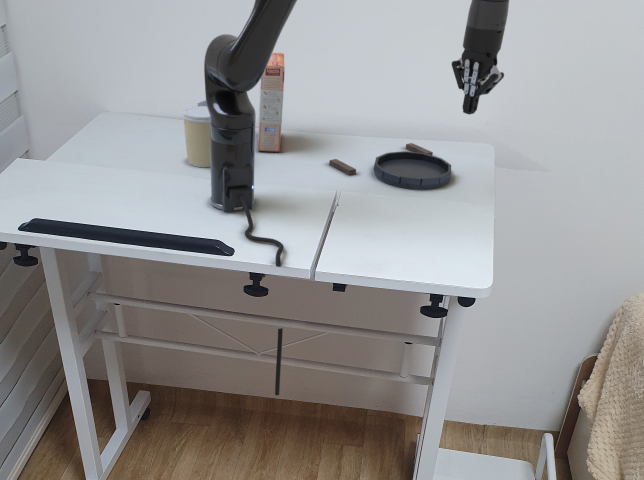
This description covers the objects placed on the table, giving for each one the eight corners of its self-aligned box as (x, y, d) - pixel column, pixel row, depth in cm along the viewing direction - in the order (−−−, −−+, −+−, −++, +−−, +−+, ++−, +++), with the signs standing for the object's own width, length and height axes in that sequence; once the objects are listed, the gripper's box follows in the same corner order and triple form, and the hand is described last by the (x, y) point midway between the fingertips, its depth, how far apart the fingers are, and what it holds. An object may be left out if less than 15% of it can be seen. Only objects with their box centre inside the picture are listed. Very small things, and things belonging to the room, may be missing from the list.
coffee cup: (225, 156, 180) (225, 106, 173) (219, 169, 172) (219, 118, 165) (188, 153, 180) (186, 104, 173) (181, 167, 173) (179, 116, 166)
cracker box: (281, 153, 183) (285, 65, 170) (257, 152, 183) (259, 64, 170) (281, 135, 194) (284, 52, 182) (258, 134, 194) (261, 51, 182)
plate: (463, 185, 169) (465, 174, 167) (394, 192, 164) (395, 181, 163) (426, 159, 183) (428, 149, 181) (361, 165, 178) (363, 154, 176)
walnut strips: (432, 156, 184) (433, 152, 183) (349, 175, 172) (349, 170, 171) (411, 147, 189) (411, 142, 189) (329, 164, 177) (329, 160, 176)
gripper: (448, 19, 146) (434, 107, 156) (498, 32, 137) (479, 124, 147) (474, 16, 149) (458, 102, 159) (524, 28, 140) (504, 119, 150)
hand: (468, 113), depth 153 cm, fingers closed
